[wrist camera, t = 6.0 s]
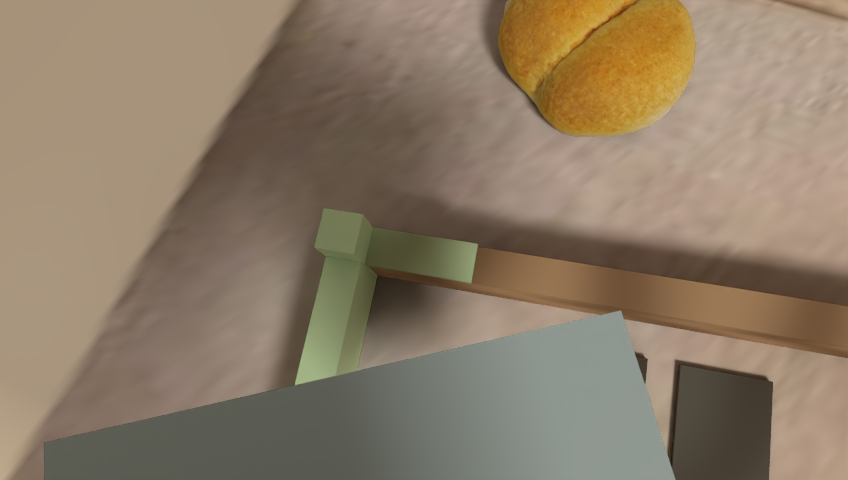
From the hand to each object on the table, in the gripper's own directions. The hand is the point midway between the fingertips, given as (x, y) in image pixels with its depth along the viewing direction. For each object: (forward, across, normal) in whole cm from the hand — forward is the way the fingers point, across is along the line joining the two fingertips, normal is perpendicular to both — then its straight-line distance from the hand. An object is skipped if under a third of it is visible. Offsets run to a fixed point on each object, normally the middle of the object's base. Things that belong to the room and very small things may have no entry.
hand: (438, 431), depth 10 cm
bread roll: (+21, -8, -1) cm, 22 cm away
